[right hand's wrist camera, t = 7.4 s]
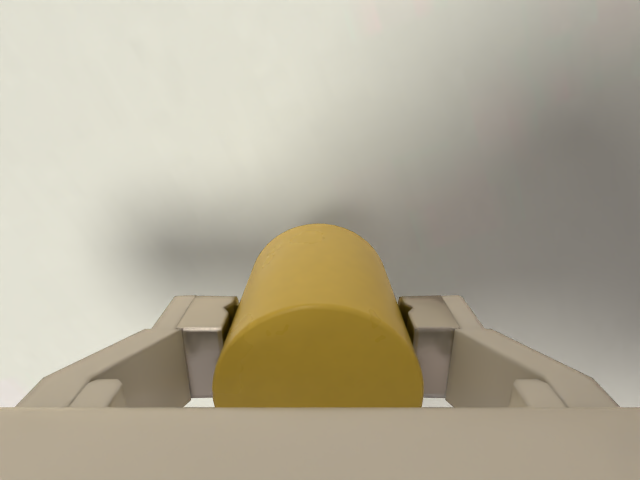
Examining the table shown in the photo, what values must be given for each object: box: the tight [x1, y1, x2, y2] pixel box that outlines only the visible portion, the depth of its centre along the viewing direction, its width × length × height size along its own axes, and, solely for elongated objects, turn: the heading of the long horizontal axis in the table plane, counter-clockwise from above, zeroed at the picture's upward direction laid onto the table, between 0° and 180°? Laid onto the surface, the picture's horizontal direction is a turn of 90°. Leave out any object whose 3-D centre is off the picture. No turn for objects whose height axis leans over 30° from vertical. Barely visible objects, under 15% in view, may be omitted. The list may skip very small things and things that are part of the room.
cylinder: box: [212, 224, 424, 407], centre depth 10 cm, size 4×4×5 cm
